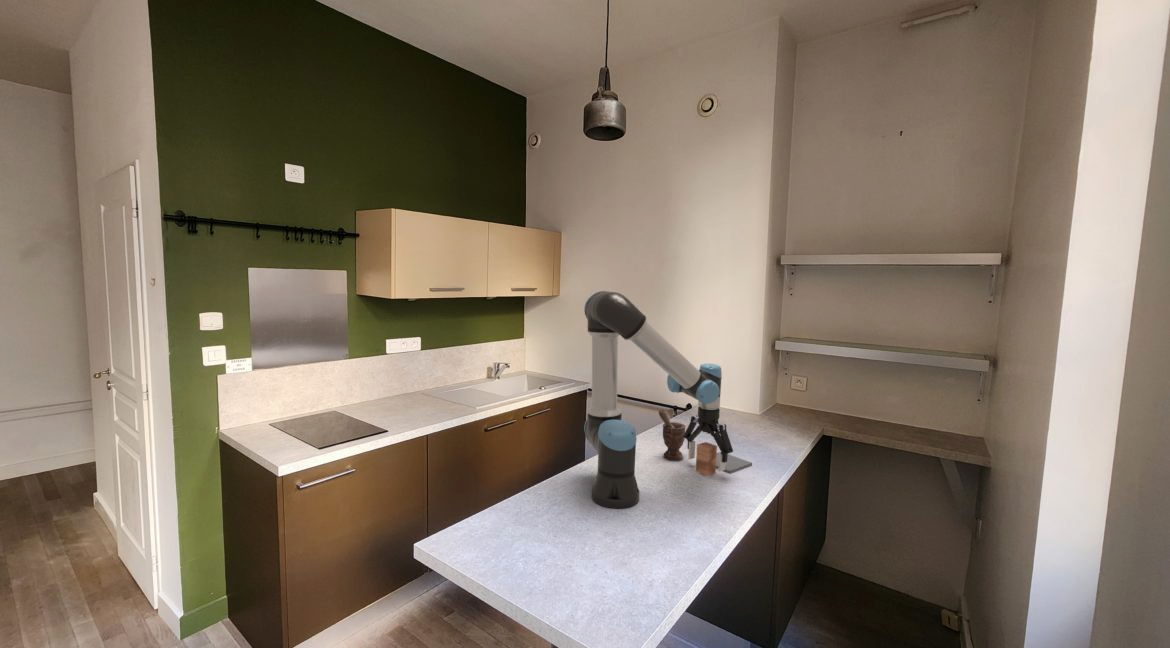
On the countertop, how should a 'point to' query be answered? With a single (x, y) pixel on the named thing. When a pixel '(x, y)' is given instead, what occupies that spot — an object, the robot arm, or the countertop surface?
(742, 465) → the slate card
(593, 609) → the countertop surface
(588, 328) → the robot arm
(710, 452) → the terracotta block
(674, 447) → the mortar and pestle
